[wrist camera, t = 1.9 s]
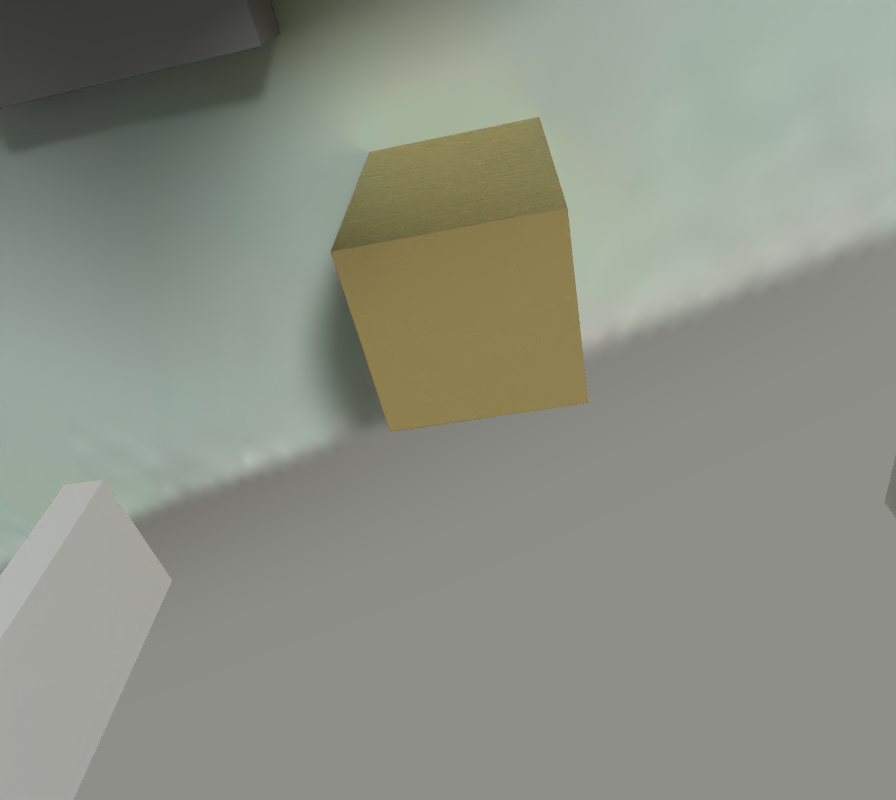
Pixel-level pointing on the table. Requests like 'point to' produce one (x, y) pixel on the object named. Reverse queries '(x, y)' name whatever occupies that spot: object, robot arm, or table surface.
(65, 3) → the dark grey block
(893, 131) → the table surface
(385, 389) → the tan rectangular block
